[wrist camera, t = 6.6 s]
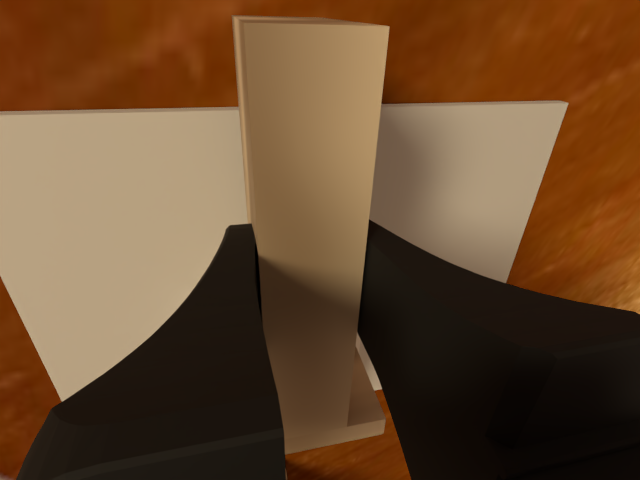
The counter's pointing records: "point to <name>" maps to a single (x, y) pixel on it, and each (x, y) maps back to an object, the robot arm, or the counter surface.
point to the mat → (227, 209)
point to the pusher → (312, 210)
